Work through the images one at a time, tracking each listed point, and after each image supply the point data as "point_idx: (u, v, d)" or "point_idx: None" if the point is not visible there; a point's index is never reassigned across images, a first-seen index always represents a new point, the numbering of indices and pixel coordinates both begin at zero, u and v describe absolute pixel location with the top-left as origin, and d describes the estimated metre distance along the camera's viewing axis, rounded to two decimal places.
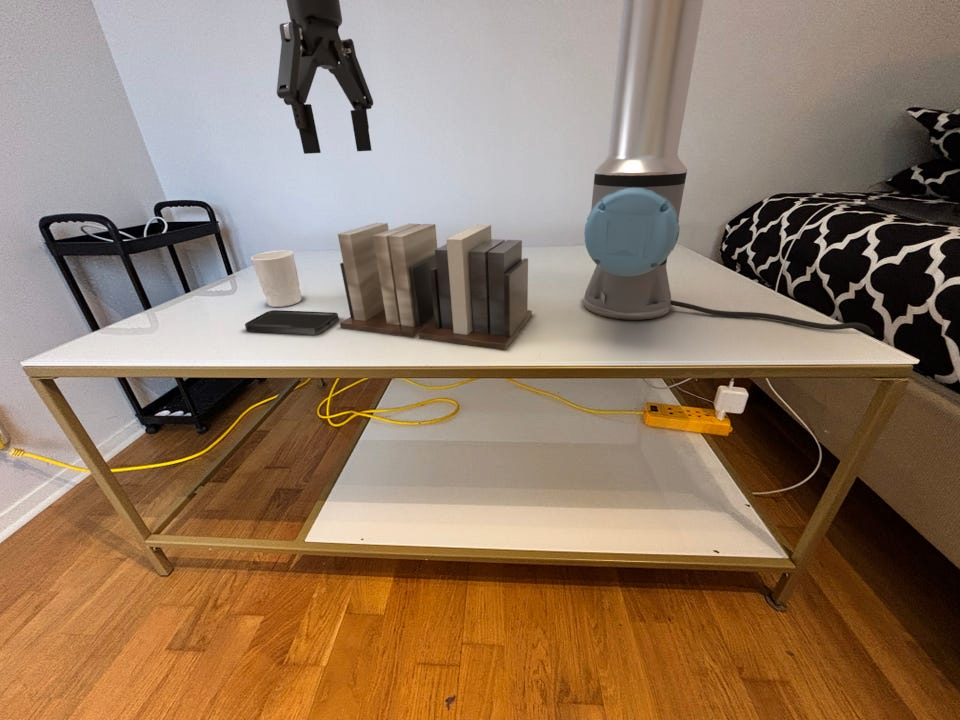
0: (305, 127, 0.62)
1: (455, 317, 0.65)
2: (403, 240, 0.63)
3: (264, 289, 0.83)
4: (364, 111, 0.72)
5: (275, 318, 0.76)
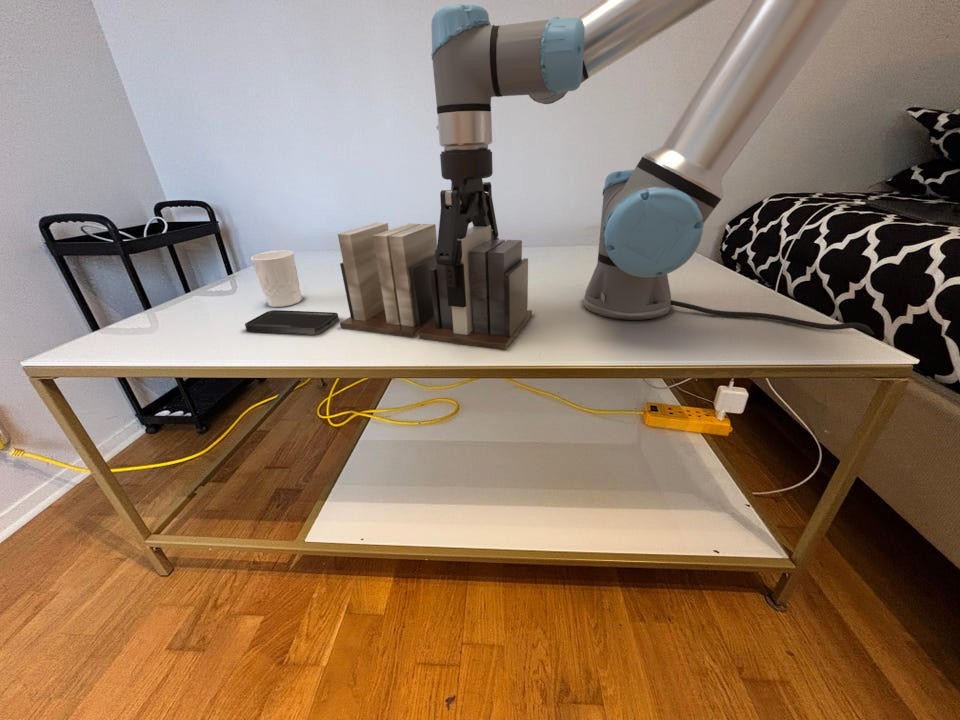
0: (456, 286, 0.61)
1: (455, 317, 0.65)
2: (403, 240, 0.63)
3: (264, 289, 0.83)
4: None
5: (275, 318, 0.76)
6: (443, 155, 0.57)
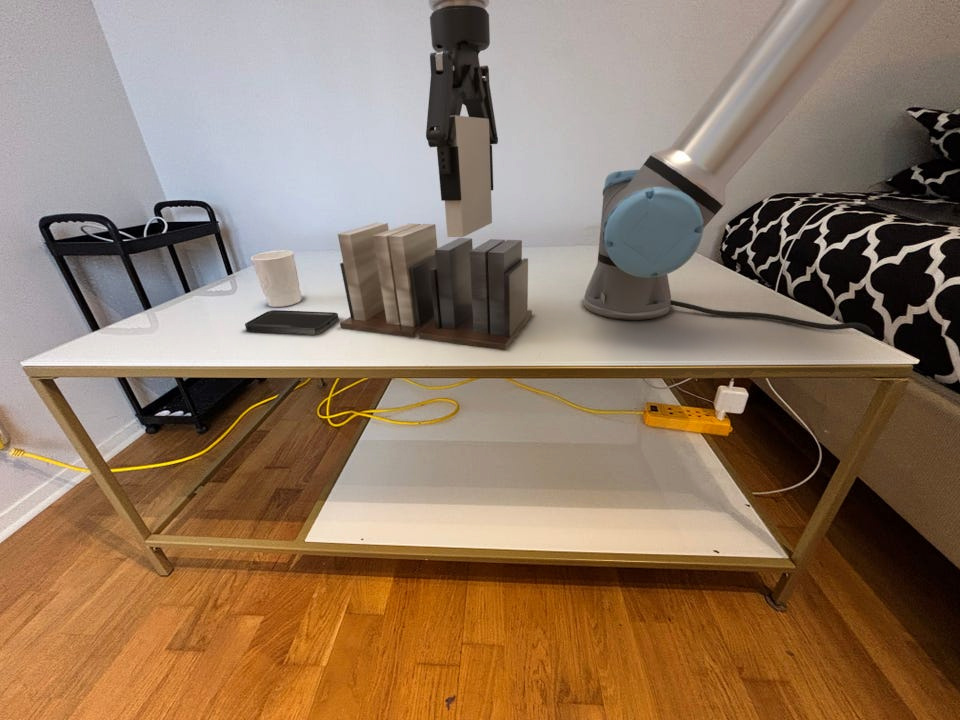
0: (450, 172, 0.54)
1: (449, 216, 0.58)
2: (403, 240, 0.63)
3: (264, 289, 0.83)
4: (491, 147, 0.63)
5: (275, 318, 0.76)
6: (433, 15, 0.50)
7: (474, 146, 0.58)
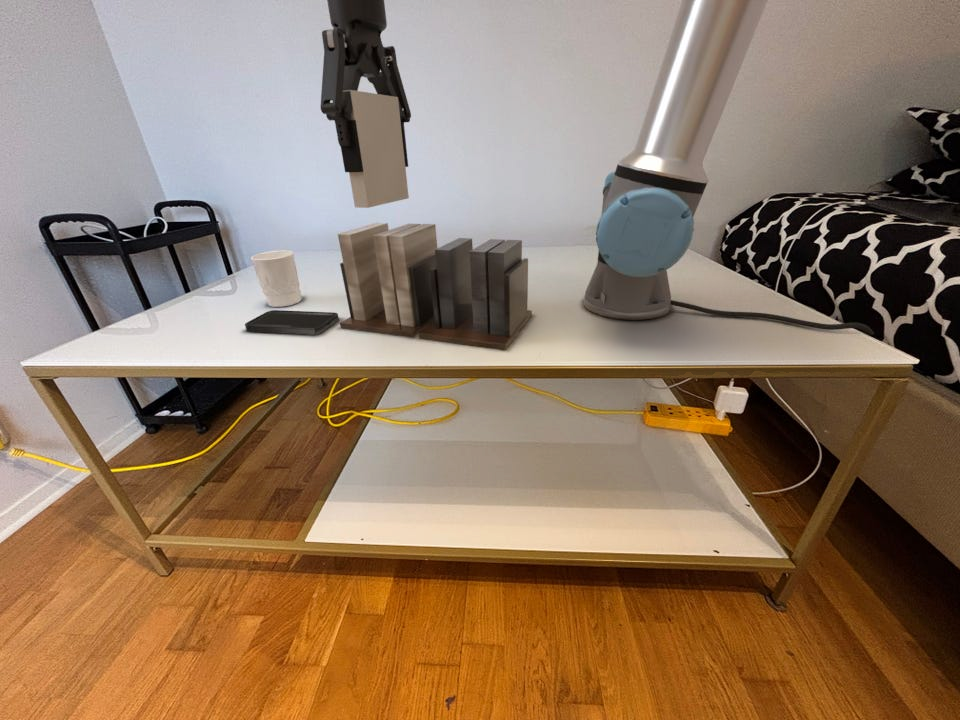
0: (348, 144, 0.57)
1: (354, 187, 0.61)
2: (403, 240, 0.63)
3: (264, 289, 0.83)
4: (402, 125, 0.67)
5: (275, 318, 0.76)
6: None
7: (379, 122, 0.62)
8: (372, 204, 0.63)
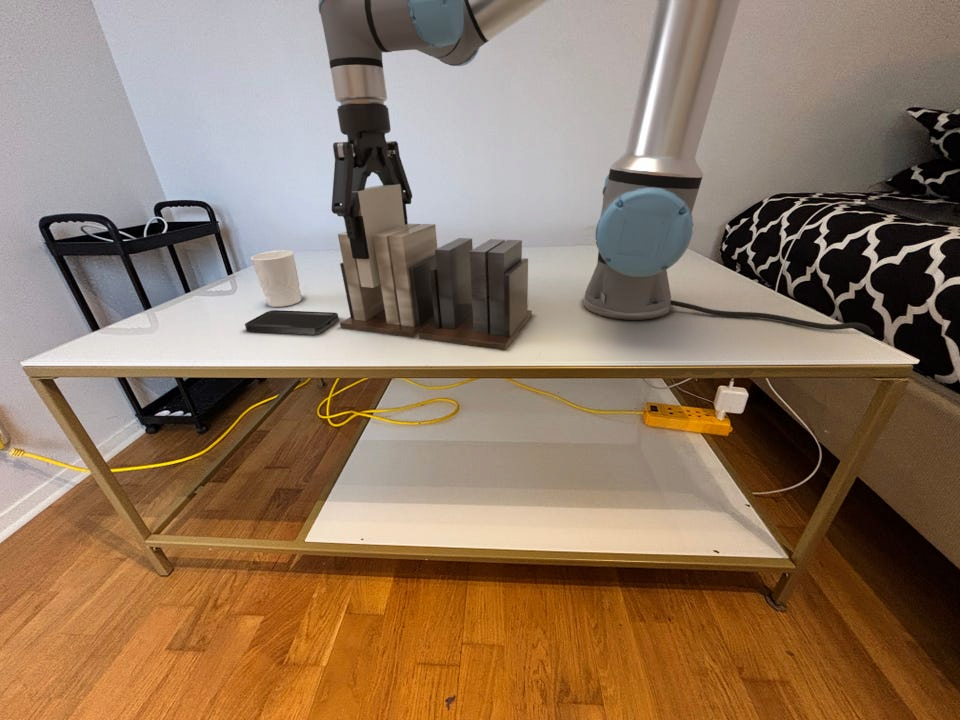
0: (356, 237, 0.64)
1: (361, 270, 0.68)
2: (403, 240, 0.63)
3: (264, 289, 0.83)
4: (404, 207, 0.73)
5: (275, 318, 0.76)
6: (338, 109, 0.60)
7: (383, 211, 0.68)
8: (377, 284, 0.69)
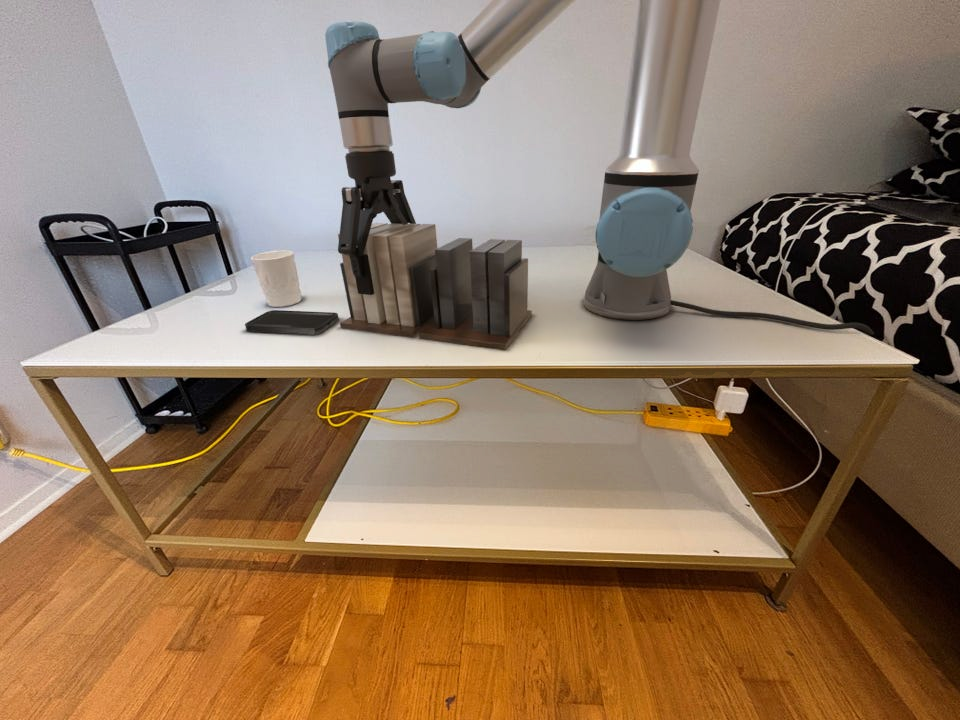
0: (361, 275, 0.66)
1: (367, 307, 0.71)
2: (403, 240, 0.63)
3: (264, 289, 0.83)
4: None
5: (275, 318, 0.76)
6: (346, 156, 0.63)
7: None
8: (383, 320, 0.72)
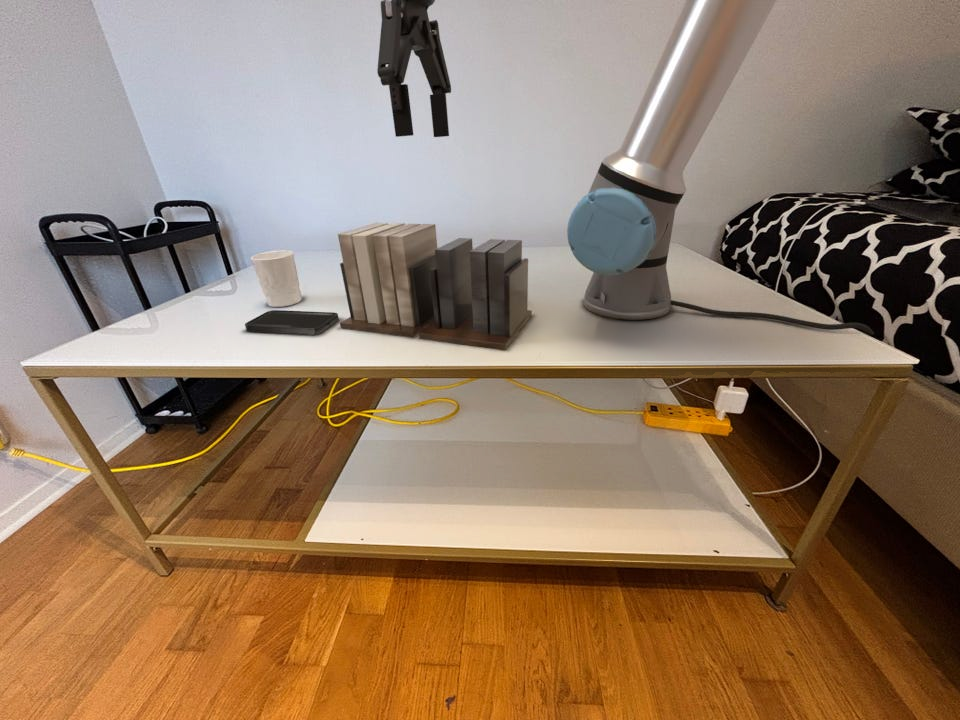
0: (401, 108, 0.60)
1: (367, 307, 0.71)
2: (403, 240, 0.63)
3: (264, 289, 0.83)
4: (444, 95, 0.71)
5: (275, 318, 0.76)
6: None
7: None
8: (383, 320, 0.72)
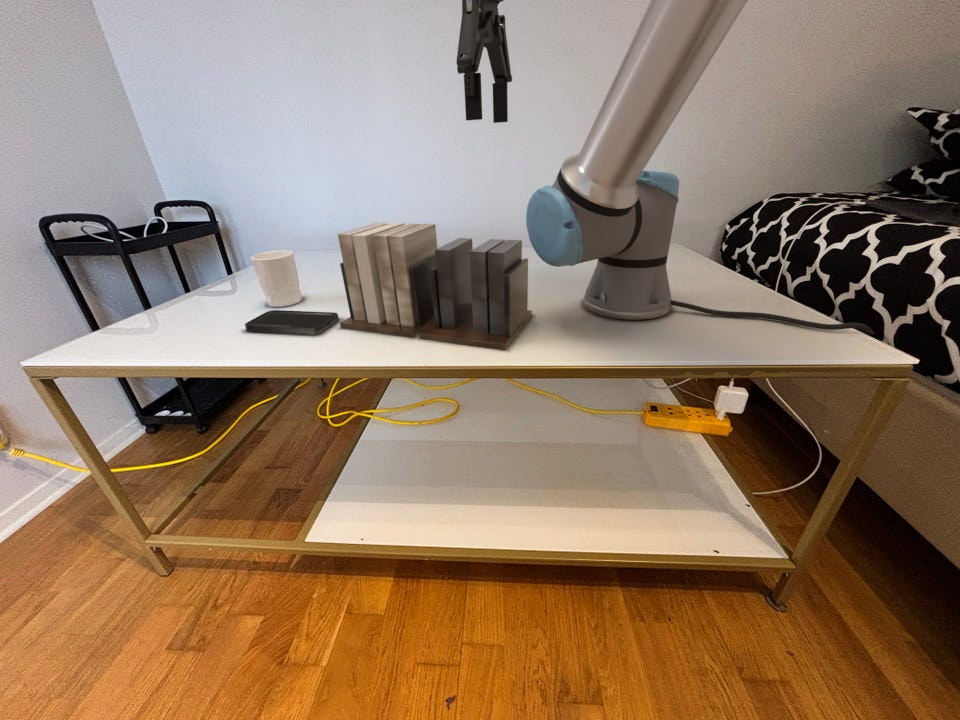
0: (474, 94, 0.67)
1: (367, 307, 0.71)
2: (403, 240, 0.63)
3: (264, 289, 0.83)
4: (506, 84, 0.78)
5: (275, 318, 0.76)
6: None
7: None
8: (383, 320, 0.72)
